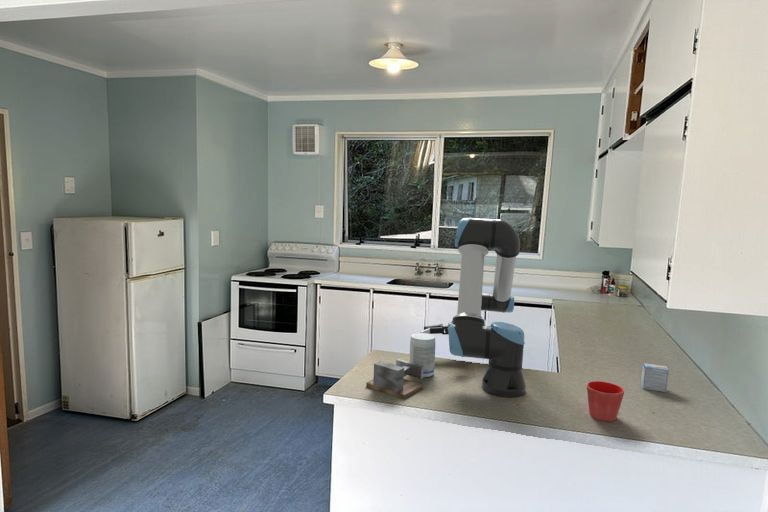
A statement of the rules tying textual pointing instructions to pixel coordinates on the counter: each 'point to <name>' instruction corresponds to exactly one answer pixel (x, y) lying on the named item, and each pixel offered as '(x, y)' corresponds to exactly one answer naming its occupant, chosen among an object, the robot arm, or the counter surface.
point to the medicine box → (654, 377)
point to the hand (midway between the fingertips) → (435, 338)
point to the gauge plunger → (411, 368)
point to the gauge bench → (402, 393)
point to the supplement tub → (423, 352)
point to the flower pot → (604, 400)
